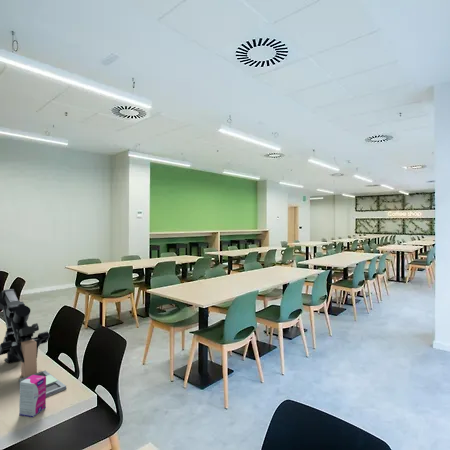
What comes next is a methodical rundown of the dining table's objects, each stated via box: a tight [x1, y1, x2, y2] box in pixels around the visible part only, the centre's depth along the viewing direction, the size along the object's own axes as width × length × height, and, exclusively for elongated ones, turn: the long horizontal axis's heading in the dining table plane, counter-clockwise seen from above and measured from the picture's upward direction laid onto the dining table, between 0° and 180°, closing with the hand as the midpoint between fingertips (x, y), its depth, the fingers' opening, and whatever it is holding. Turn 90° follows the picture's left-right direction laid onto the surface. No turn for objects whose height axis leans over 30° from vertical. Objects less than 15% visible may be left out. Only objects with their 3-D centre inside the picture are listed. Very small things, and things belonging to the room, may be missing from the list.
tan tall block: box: [20, 339, 38, 378], centre depth 136 cm, size 4×4×14 cm
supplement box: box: [18, 375, 47, 418], centre depth 109 cm, size 6×6×12 cm
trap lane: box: [18, 369, 67, 398], centre depth 127 cm, size 20×10×1 cm, turn 50°
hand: (30, 360), depth 135 cm, fingers closed on tan tall block, 4 cm apart
